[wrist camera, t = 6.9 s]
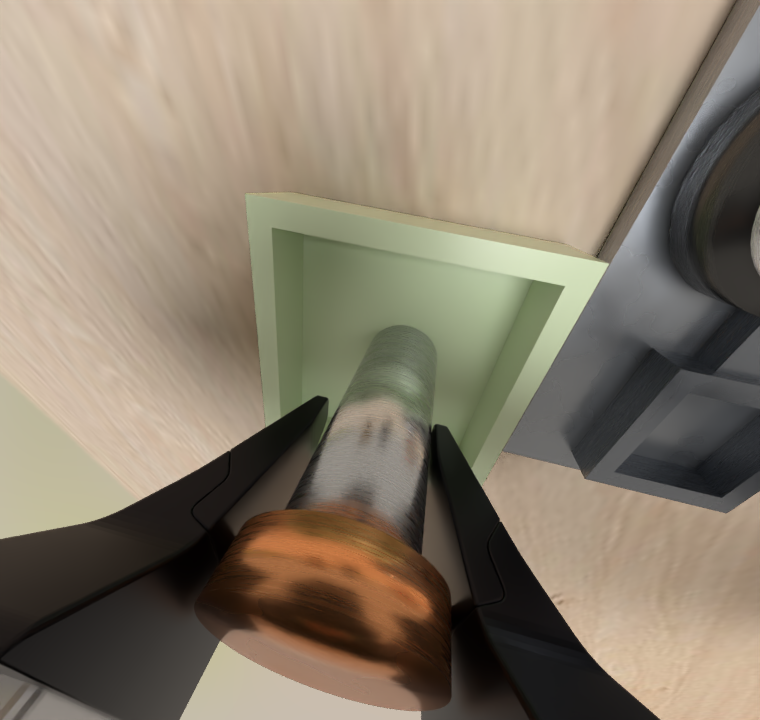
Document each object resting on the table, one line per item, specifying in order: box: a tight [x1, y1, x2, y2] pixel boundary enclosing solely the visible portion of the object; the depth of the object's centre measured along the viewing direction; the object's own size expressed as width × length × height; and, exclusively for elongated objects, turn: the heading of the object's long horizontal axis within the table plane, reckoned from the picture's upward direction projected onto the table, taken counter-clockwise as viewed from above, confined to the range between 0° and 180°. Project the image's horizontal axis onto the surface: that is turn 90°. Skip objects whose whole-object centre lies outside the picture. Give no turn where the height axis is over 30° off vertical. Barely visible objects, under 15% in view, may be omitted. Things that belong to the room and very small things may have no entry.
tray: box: [245, 192, 609, 486], centre depth 13 cm, size 12×11×3 cm
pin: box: [194, 325, 452, 711], centre depth 9 cm, size 4×4×10 cm
